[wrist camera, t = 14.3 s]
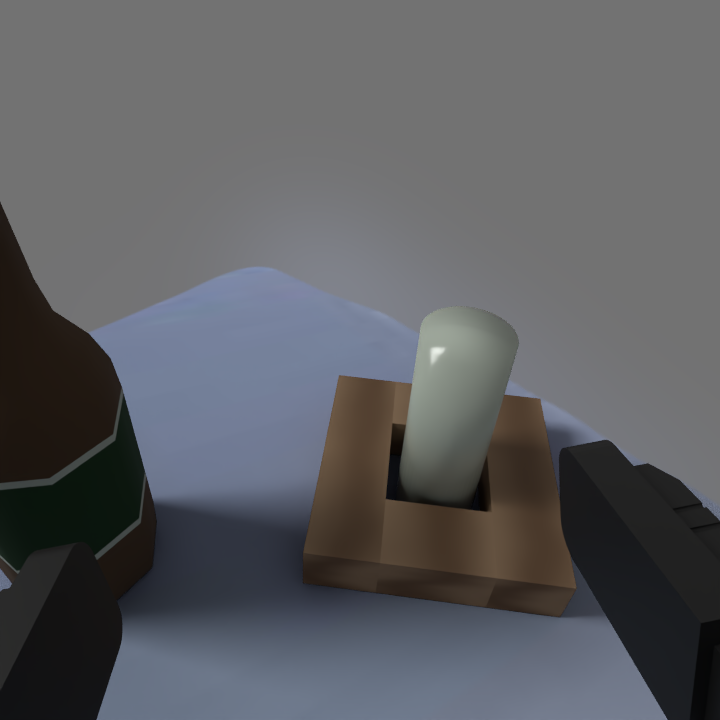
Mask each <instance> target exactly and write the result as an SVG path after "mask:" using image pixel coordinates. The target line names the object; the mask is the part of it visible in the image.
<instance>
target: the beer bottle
mask: <svg viewBox="0 0 720 720" xmlns="http://www.w3.org/2000/svg"><path fill="white" fill-rule="evenodd" d="M156 523H157V520H156V514H155V509H154V503H153V499H152V495H151V492H150V488H149V484H148V481H147V477H146V473H145V470H144V466H143V462H142V459H141V455H140V451H139V448H138V444H137V441H136V437H135V433H134V430H133V426H132V422H131V419H130V415H129V411H128V408H127V404H126V400H125V397H124V393H123V389H122V386H121V384H120V381H119V379H118V376H117V374H116V371H115V369H114V366H113V363H112V361H111V358H110V357H109V356H108V355H107V354H106V353H105V351H104V350H103V349H102V348H101V347H100V346H99V345H98V344H97V342H96V341H95V340H94V339H93V338H92V337H91V336H90V334H88V333H87V332H85V331H84V330H82V329H80V328H79V327H77V326H76V325H74V324H73V323H71V322H70V321H68V320H67V319H65V318H64V317H62V316H61V315H59V314H58V313H56V312H54V311H53V310H52V308H51V306H50V305H49V303H48V302H47V300H46V298H45V297H44V295H43V293H42V292H41V290H40V288H39V287H38V285H37V284H36V282H35V280H34V278H33V276H32V274H31V272H30V269H29V267H28V265H27V262H26V260H25V258H24V255H23V253H22V251H21V249H20V246H19V244H18V242H17V239H16V237H15V235H14V233H13V230H12V228H11V226H10V224H9V221H8V219H7V217H6V214H5V212H4V210H3V208H2V205H1V203H0V569H1V570H2V571H3V572H4V574H5V575H6V576H7V578H8V579H9V580H10V581H11V583H13V582H14V580H15V578H16V577H17V575H18V573H19V572H20V570H21V568H22V566H23V565H24V563H25V561H26V560H27V558H28V557H29V555H30V554H31V553H33V552H34V551H37V550H42V549H47V548H52V547H57V546H62V545H67V544H72V543H77V542H84V543H86V544H88V545H89V547H90V548H91V549H92V551H93V553H94V555H95V557H96V559H97V562H98V564H99V566H100V568H101V570H102V572H103V574H104V576H105V578H106V580H107V582H108V585H109V587H110V589H111V591H112V593H113V595H114V597H115V599H116V601H117V600H118V599H119V598H120V597H121V596H122V595H123V594H124V593H125V592H126V591H128V590H129V589H130V588H131V587H132V586H133V585H134V584H135V583H136V582H137V581H138V580H139V579H141V578H142V577H143V576H144V575H145V574H146V573H147V572H148V571H149V570H150V569H151V568H152V566H153V555H154V544H155V534H156Z"/></svg>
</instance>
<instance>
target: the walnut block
mask: <svg viewBox="0 0 720 720" xmlns="http://www.w3.org/2000/svg"><path fill="white" fill-rule="evenodd" d="M411 389H412V384H409V383H401V382H392V381H384V380H375V379H366V378H358V377H349V376H341V375H339V378H338V383H337V388H336V393H335V398H334V403H333V408H332V413H331V418H330V423H329V428H328V432H327V437H326V442H325V447H324V452H323V457H322V462H321V467H320V472H319V477H318V482H317V487H316V492H315V496H314V501H313V506H312V511H311V516H310V521H309V526H308V531H307V536H306V541H305V546H304V551H303V583H306V584H314V585H321V586H329V587H336V588H344V589H351V590H359V591H366V592H374V593H381V594H389V595H396V596H404V597H412V598H419V599H427V600H434V601H442V602H449V603H457V604H464V605H472V606H479V607H487V608H494V609H502V610H509V611H517V612H525V613H532V614H540V615H547V616H555V617H560V616H561V615H562V613H563V611H564V609H565V608H566V606H567V604H568V603H569V601H570V599H571V597H572V596H573V594H574V592H575V591H576V589H577V588H576V582H575V577H574V572H573V567H572V562H571V556H570V552H569V550H568V548H567V545H566V542H565V539H564V535H563V531H562V526H561V515H560V499H559V494H558V489H557V484H556V478H555V473H554V468H553V463H552V458H551V452H550V447H549V442H548V437H547V432H546V426H545V421H544V416H543V411H542V406H541V400H540V399H537V398H528V397H520V396H511V395H504V397H503V400H502V404H501V407H500V411H499V414H498V418H497V421H496V424H495V428H494V431H493V435H492V438H491V442H490V445H489V448H488V452H487V455H486V459H485V462H484V466H483V469H482V472H481V476H480V479H479V483H478V494H479V510H480V511H475V510H467V509H459V508H451V507H444V506H436V505H428V504H420V503H412V502H404V501H396V500H388V499H386V490H387V479H388V467H389V456H390V454H393V455H402V449H403V442H404V435H405V429H406V422H407V416H408V409H409V402H410V396H411Z"/></svg>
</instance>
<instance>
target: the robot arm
mask: <svg viewBox="0 0 720 720" xmlns="http://www.w3.org/2000/svg"><path fill="white" fill-rule="evenodd" d="M559 476H560V515H561V526H562V531H563V535H564V539H565V542H566V545H567V548H568V550H569V552H570V555H571V557H572V558H573V560H574V562H575V564H576V565H577V567H578V569H579V570H580V572H581V574H582V575H583V577H584V579H585V580H586V582H587V584H588V586H589V587H590V589H591V591H592V592H593V594H594V596H595V597H596V599H597V601H598V602H599V604H600V606H601V608H602V609H603V611H604V613H605V614H606V616H607V618H608V619H609V621H610V623H611V624H612V626H613V628H614V630H615V631H616V633H617V635H618V636H619V638H620V640H621V641H622V643H623V645H624V646H625V648H626V650H627V652H628V653H629V655H630V657H631V658H632V660H633V662H634V663H635V665H636V667H637V668H638V670H639V672H640V674H641V675H642V677H643V679H644V680H645V682H646V684H647V685H648V687H649V689H650V690H651V692H652V694H653V696H654V697H655V699H656V701H657V702H658V704H659V706H660V707H661V709H662V711H663V712H664V714H665V716H666V718H667V719H668V720H720V521H719V520H718V518H717V517H716V516H715V515H714V514H713V513H712V512H711V511H710V510H709V509H708V508H707V507H705V508H704V507H703V506H702V502H701V501H700V500H699V499H698V498H697V497H696V496H695V495H694V494H693V493H692V492H691V491H690V490H689V489H688V488H687V487H686V486H685V485H684V484H683V483H682V482H681V481H680V480H678V479H677V478H675V477H673V476H671V475H669V474H667V473H665V472H663V471H661V470H660V469H658V468H656V467H654V466H652V465H650V464H643V465H638V466H633V465H632V464H631V463H630V462H629V461H628V459H627V458H626V457H625V456H624V455H623V454H622V453H621V452H620V451H619V449H618V448H617V447H616V446H615V445H614V444H613V443H612V442H610V441H609V440H602V441H597V442H592V443H587V444H582V445H577V446H572V447H567V448H563V449H561V451H560V455H559ZM121 640H122V617H121V612H120V608H119V606H118V603H117V601H116V599H115V597H114V595H113V593H112V591H111V589H110V587H109V585H108V582H107V580H106V578H105V576H104V574H103V572H102V570H101V568H100V566H99V564H98V562H97V559H96V557H95V555H94V553H93V551H92V549H91V548H90V547H89V545H88V544H86V543H84V542H77V543H72V544H67V545H62V546H57V547H52V548H47V549H42V550H37V551H34V552H33V553H31V554H30V555H29V557H28V558H27V560H26V561H25V563H24V565H23V566H22V568H21V570H20V572H19V573H18V575H17V577H16V578H15V580H14V582H13V583H12V585H11V587H10V588H8V589H3V590H2V591H1V592H0V720H96V719H97V716H98V713H99V710H100V707H101V704H102V701H103V698H104V695H105V692H106V688H107V685H108V682H109V679H110V676H111V673H112V670H113V667H114V664H115V661H116V658H117V655H118V652H119V649H120V645H121Z"/></svg>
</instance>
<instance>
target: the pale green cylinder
mask: <svg viewBox="0 0 720 720" xmlns="http://www.w3.org/2000/svg"><path fill="white" fill-rule="evenodd" d="M518 344H519V341H518V336H517V334H516V332H515V330H514V329H513V328H512V327H511V325H510V324H508V323H507V322H506V321H505V320H503V319H502V318H500V317H498V316H497V315H495V314H492V313H490V312H488V311H485V310H481V309H477V308H472V307H463V306H455V307H447V308H442V309H439V310H436V311H434V312H432V313H431V314H429V315H428V316H427V317H426V318H425V319H424V320H423V322H422V324H421V329H420V336H419V342H418V349H417V356H416V362H415V369H414V376H413V382H412V389H411V396H410V402H409V409H408V416H407V422H406V429H405V435H404V442H403V449H402V455H401V462H400V469H399V475H398V482H397V489H396V500H397V501H404V502H412V503H420V504H428V505H436V506H444V507H451V508H459V509H467V510H471V507H472V503H473V500H474V496H475V493H476V490H477V486H478V483H479V479H480V476H481V472H482V469H483V466H484V462H485V459H486V455H487V452H488V448H489V445H490V442H491V438H492V435H493V431H494V428H495V424H496V421H497V418H498V414H499V411H500V407H501V404H502V400H503V397H504V394H505V390H506V387H507V383H508V380H509V376H510V373H511V370H512V366H513V363H514V359H515V356H516V352H517V349H518Z"/></svg>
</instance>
